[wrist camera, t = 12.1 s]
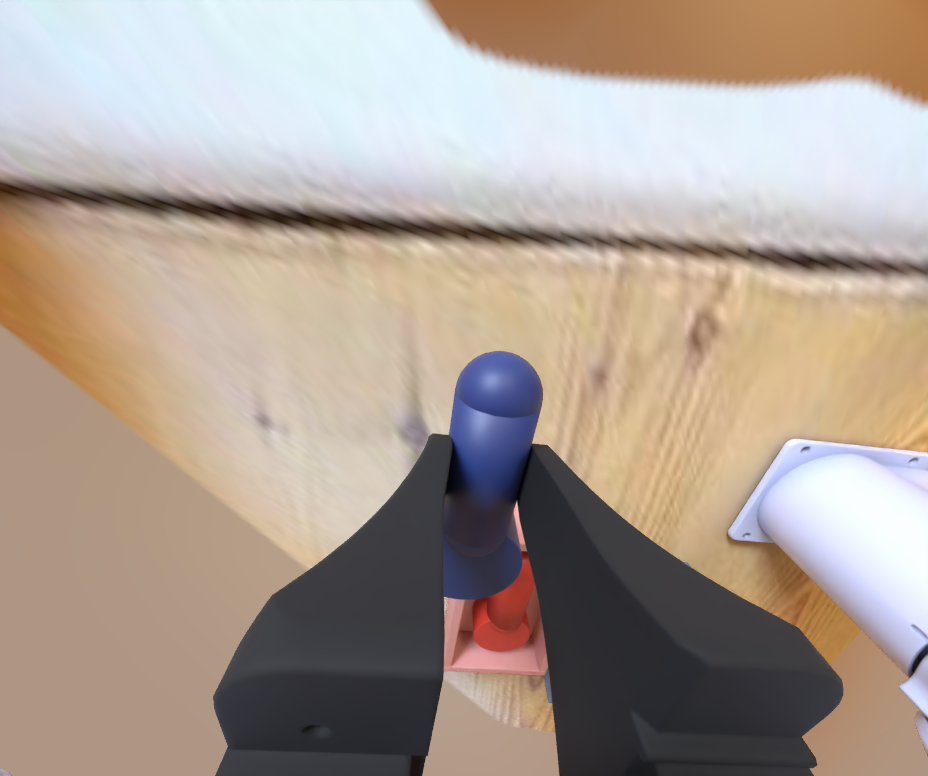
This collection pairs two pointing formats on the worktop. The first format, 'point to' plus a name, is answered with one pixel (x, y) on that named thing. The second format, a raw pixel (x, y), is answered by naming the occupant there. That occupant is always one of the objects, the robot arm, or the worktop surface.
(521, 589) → the red rubber stamp
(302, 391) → the worktop surface
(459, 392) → the blue handle
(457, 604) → the red bin
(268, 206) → the worktop surface
